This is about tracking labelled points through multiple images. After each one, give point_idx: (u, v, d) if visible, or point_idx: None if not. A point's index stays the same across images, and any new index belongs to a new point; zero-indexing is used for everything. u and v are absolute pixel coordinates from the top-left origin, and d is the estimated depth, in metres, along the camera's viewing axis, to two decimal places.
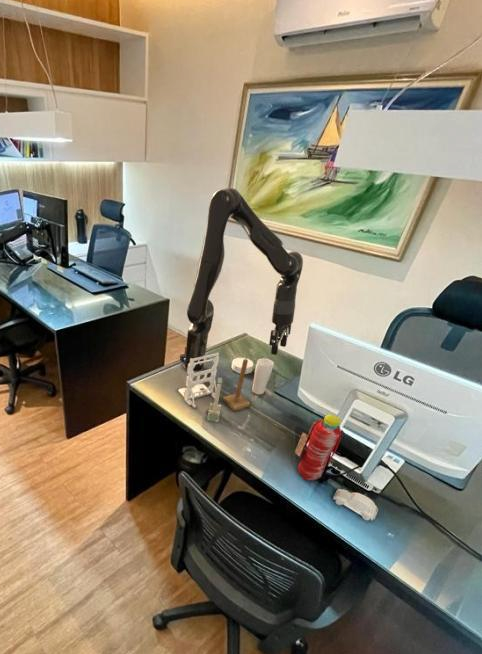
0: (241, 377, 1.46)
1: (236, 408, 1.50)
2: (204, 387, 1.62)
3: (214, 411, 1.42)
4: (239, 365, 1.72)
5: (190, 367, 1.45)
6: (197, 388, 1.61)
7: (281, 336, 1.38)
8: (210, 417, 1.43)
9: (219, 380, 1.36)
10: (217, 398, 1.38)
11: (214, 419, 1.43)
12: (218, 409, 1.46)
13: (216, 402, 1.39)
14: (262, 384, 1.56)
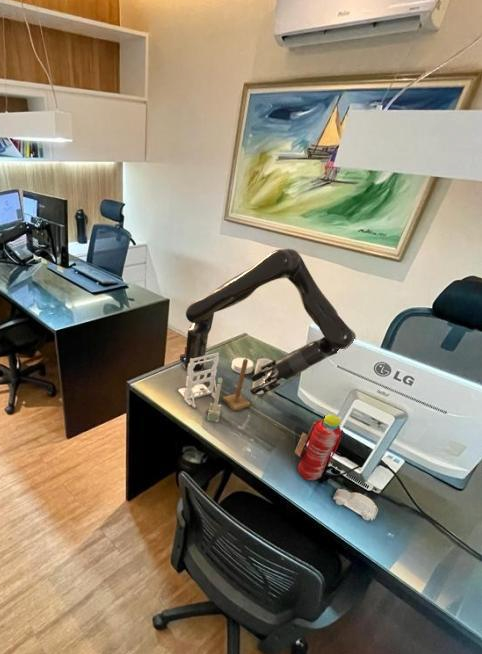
0: (241, 377, 1.46)
1: (236, 408, 1.50)
2: (204, 387, 1.62)
3: (214, 411, 1.42)
4: (239, 365, 1.72)
5: (190, 367, 1.45)
6: (197, 388, 1.61)
7: None
8: (210, 417, 1.43)
9: (219, 380, 1.36)
10: (217, 398, 1.38)
11: (214, 419, 1.43)
12: (218, 409, 1.46)
13: (216, 402, 1.39)
14: None
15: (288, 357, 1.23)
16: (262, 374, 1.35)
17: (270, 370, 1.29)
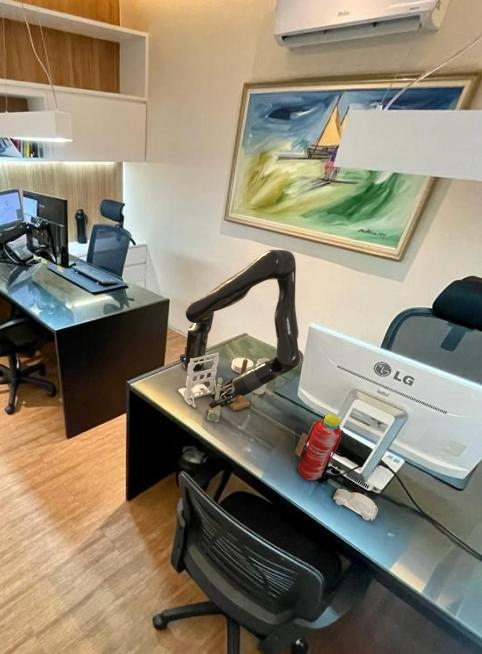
0: None
1: (236, 408, 1.50)
2: (204, 387, 1.62)
3: (214, 411, 1.42)
4: (239, 365, 1.72)
5: (190, 367, 1.45)
6: (197, 388, 1.61)
7: None
8: (210, 417, 1.43)
9: (219, 380, 1.36)
10: (217, 398, 1.38)
11: (214, 419, 1.43)
12: (218, 409, 1.46)
13: None
14: None
15: (243, 376, 1.31)
16: (221, 393, 1.42)
17: (228, 387, 1.38)
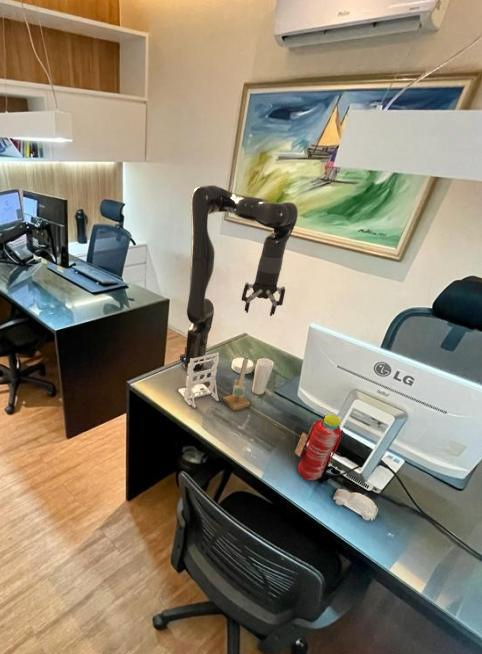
0: None
1: (236, 408, 1.50)
2: (204, 387, 1.62)
3: (240, 386, 1.46)
4: (239, 365, 1.72)
5: (190, 367, 1.45)
6: (197, 388, 1.61)
7: (253, 294, 1.30)
8: (235, 392, 1.48)
9: (246, 355, 1.41)
10: (244, 373, 1.42)
11: (239, 394, 1.48)
12: (243, 385, 1.51)
13: (242, 377, 1.44)
14: (262, 384, 1.56)
15: None
16: (273, 304, 1.31)
17: None
